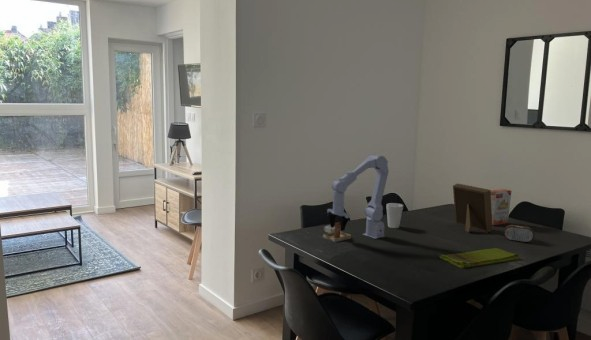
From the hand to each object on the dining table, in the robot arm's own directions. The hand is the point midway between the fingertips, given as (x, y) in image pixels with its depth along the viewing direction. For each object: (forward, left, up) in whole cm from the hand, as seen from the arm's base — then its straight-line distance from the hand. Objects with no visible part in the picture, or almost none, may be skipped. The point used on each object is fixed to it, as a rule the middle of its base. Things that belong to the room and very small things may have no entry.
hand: (337, 228), depth 248 cm
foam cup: (-2, -44, -6) cm, 44 cm away
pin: (0, 0, -5) cm, 5 cm away
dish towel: (-61, -34, -6) cm, 70 cm away
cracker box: (-34, -103, -6) cm, 109 cm away
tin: (-59, -78, -6) cm, 98 cm away
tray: (0, 0, -5) cm, 5 cm away
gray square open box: (+10, -6, -5) cm, 13 cm away
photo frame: (-30, -77, -6) cm, 83 cm away
